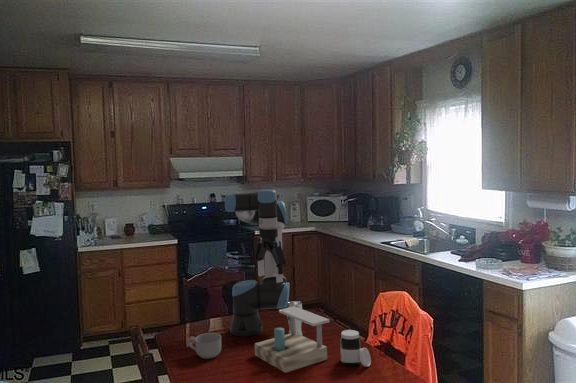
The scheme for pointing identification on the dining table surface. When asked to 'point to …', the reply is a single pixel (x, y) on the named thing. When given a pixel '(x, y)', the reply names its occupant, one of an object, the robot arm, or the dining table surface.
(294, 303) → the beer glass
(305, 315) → the grey piece
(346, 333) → the spread jar
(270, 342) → the socket block
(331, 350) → the dining table surface
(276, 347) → the peg
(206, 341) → the teacup
